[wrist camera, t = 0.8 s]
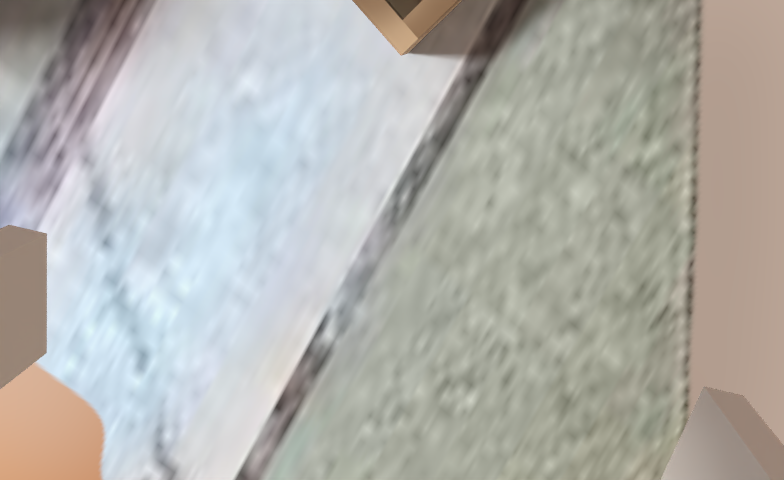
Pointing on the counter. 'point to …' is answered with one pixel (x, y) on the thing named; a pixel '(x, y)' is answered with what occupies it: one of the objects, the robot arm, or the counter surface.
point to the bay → (405, 19)
